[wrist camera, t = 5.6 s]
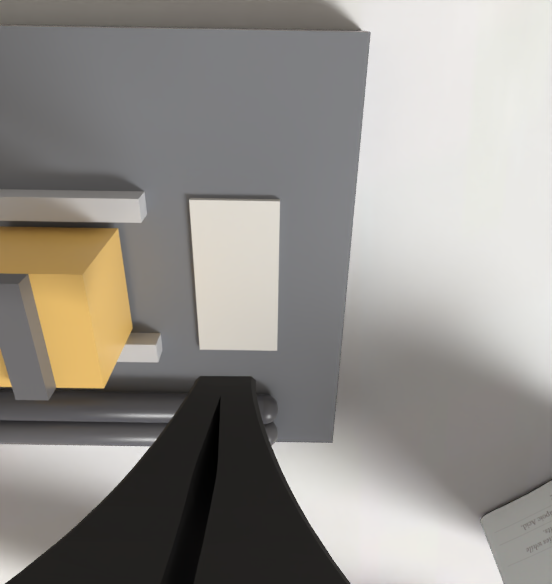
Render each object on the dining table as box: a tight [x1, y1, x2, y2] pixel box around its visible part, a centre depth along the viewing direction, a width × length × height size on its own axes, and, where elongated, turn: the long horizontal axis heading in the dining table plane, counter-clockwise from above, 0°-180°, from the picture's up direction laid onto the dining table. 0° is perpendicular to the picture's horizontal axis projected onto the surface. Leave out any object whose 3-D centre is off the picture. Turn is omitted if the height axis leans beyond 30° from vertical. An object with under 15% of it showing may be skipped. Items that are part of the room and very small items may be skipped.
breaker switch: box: [0, 226, 133, 400], centre depth 16 cm, size 4×4×4 cm
